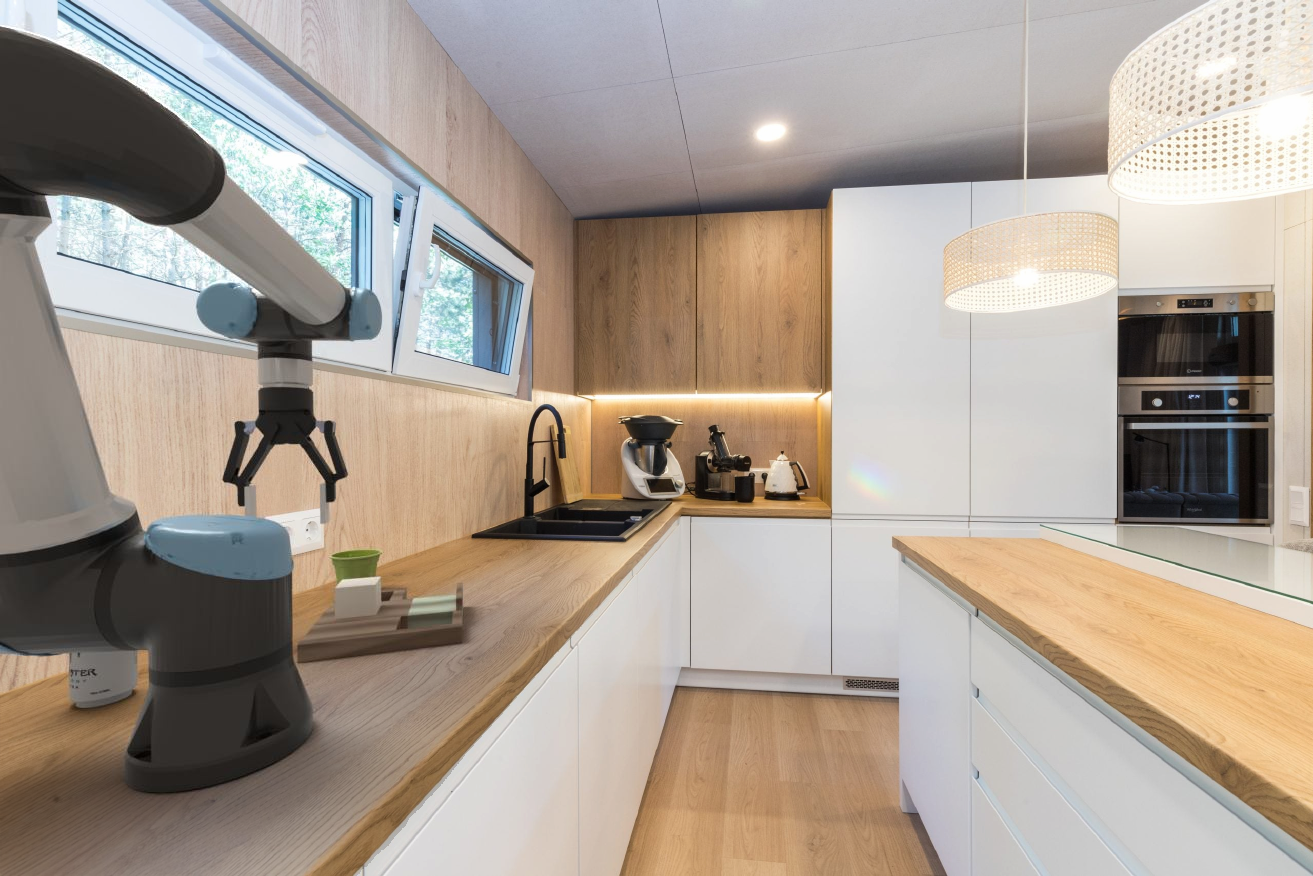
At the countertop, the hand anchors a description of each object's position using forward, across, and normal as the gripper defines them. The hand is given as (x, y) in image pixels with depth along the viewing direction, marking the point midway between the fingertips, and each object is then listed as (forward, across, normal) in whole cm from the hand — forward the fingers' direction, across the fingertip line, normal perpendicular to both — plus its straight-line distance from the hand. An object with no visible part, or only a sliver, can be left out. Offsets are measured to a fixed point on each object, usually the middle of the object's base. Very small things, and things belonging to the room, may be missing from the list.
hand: (288, 524), depth 93 cm
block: (+15, -10, 0) cm, 18 cm away
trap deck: (+18, -15, 0) cm, 23 cm away
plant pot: (+18, -6, -22) cm, 29 cm away
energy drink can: (+18, +15, +19) cm, 30 cm away
